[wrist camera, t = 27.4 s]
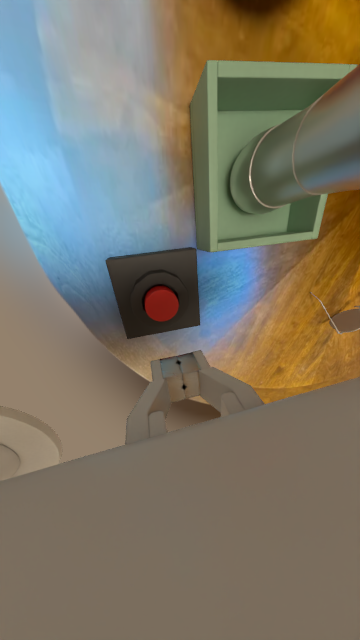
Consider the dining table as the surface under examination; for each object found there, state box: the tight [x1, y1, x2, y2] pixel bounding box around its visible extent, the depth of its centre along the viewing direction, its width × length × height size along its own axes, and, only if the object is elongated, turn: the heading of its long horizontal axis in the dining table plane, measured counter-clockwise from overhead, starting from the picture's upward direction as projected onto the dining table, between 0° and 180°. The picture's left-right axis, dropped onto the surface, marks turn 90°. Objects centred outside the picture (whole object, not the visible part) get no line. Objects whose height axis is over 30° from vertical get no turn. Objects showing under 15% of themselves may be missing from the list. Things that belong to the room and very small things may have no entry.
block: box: [106, 247, 200, 339], centre depth 22 cm, size 10×10×4 cm
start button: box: [145, 286, 179, 321], centre depth 19 cm, size 4×4×2 cm
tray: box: [190, 60, 358, 252], centre depth 18 cm, size 13×13×5 cm
